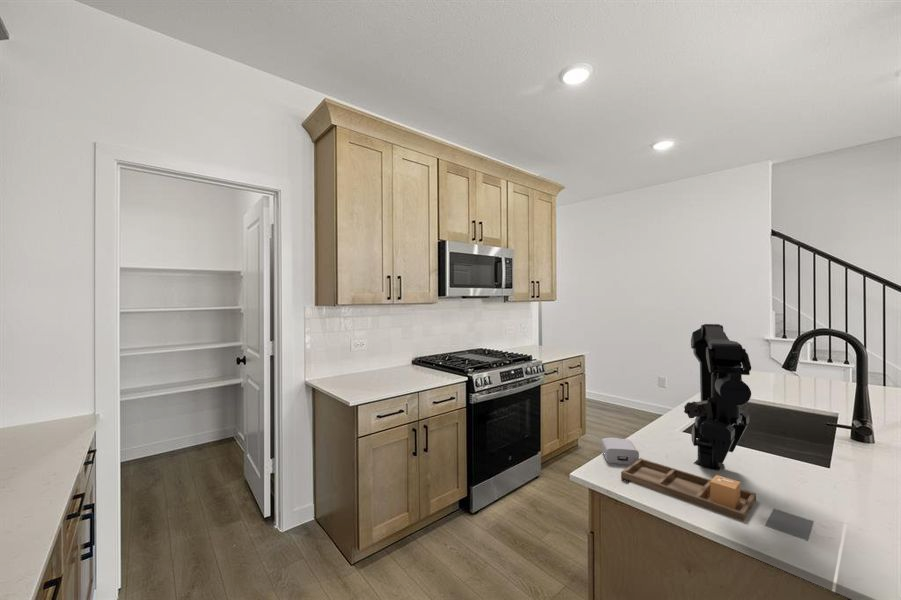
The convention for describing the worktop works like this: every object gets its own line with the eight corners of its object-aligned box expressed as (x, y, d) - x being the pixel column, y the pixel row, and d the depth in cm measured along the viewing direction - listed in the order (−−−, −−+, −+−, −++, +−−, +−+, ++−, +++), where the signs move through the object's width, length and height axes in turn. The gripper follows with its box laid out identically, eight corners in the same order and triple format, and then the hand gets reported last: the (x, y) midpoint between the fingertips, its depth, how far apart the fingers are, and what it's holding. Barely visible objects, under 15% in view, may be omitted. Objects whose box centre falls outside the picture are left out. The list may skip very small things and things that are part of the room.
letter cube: (716, 494, 98) (716, 474, 98) (740, 502, 94) (740, 481, 94) (710, 501, 95) (710, 481, 95) (734, 509, 91) (734, 488, 91)
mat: (773, 510, 92) (773, 508, 92) (813, 523, 86) (813, 521, 86) (764, 528, 85) (764, 525, 85) (807, 543, 80) (807, 540, 80)
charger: (626, 446, 131) (639, 465, 116) (598, 444, 133) (606, 463, 118) (626, 432, 131) (638, 450, 116) (598, 430, 133) (606, 448, 118)
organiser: (640, 465, 116) (640, 458, 116) (756, 502, 95) (756, 493, 95) (621, 479, 108) (621, 471, 108) (743, 523, 87) (743, 514, 87)
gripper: (699, 382, 106) (699, 437, 107) (675, 394, 94) (675, 457, 94) (749, 389, 98) (749, 450, 98) (730, 404, 86) (730, 473, 86)
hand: (725, 457), depth 95 cm, fingers open, 9 cm apart
